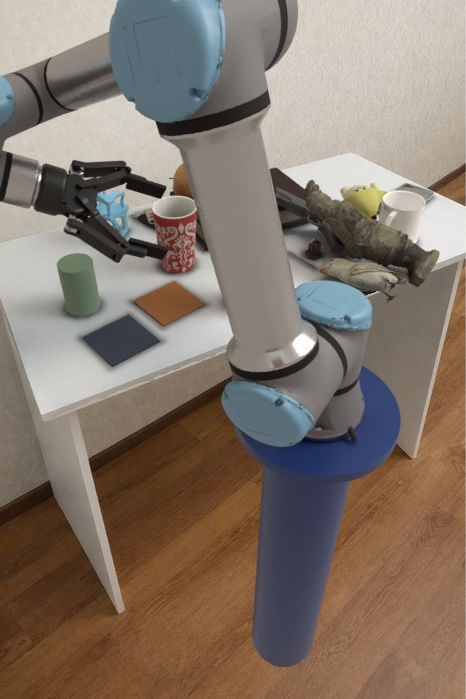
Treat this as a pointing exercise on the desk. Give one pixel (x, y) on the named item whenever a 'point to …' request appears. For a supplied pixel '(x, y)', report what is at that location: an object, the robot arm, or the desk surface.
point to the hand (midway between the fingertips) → (164, 222)
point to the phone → (415, 189)
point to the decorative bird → (364, 275)
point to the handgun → (310, 219)
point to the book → (285, 216)
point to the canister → (79, 284)
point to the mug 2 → (403, 212)
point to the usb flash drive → (146, 217)
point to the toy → (364, 198)
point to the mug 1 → (176, 232)
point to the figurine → (313, 250)
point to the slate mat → (121, 340)
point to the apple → (181, 183)
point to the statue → (370, 236)
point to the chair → (113, 209)
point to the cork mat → (169, 303)
